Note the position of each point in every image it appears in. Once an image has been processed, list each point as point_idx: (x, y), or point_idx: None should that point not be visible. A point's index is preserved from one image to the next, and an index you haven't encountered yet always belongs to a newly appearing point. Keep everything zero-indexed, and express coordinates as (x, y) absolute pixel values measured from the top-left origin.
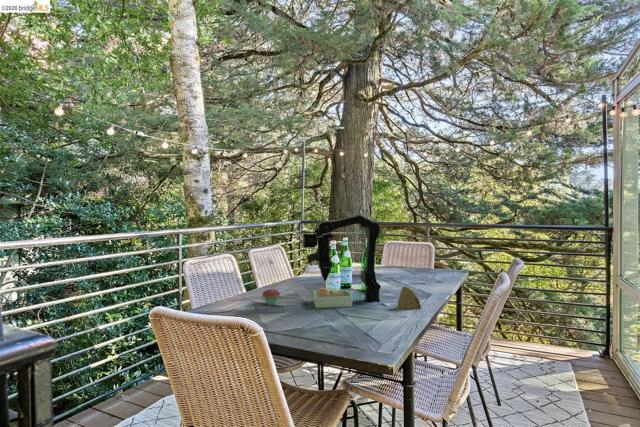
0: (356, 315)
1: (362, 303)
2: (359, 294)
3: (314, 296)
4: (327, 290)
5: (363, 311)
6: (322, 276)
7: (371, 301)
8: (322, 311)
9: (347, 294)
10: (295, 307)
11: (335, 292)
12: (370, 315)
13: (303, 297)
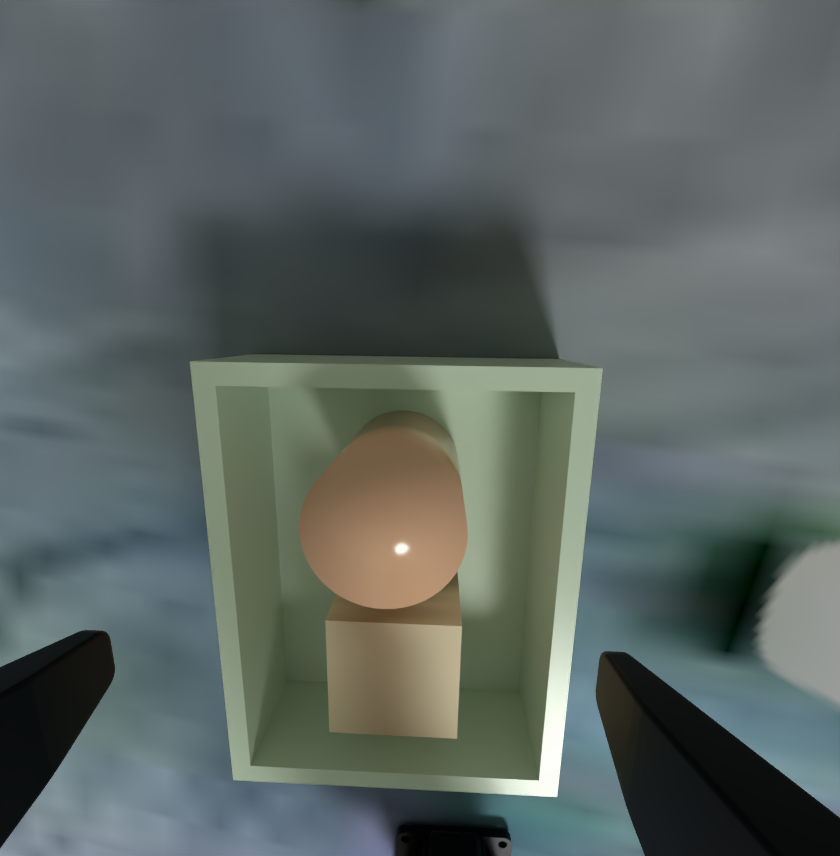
0: None
1: None
2: None
3: (378, 362)
4: (321, 569)
5: (131, 731)
6: (604, 672)
7: (397, 854)
8: (130, 407)
9: (437, 748)
10: (295, 113)
11: (390, 650)
12: None
13: (753, 250)
